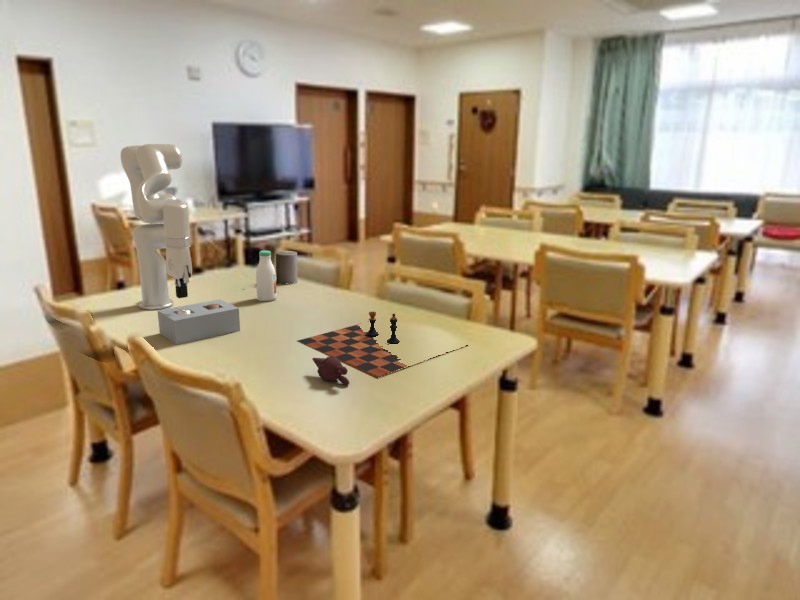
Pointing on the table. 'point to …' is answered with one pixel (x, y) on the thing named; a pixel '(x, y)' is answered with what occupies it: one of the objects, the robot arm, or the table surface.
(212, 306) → the brown rounded cylinder
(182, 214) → the robot arm
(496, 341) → the table surface
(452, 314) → the table surface
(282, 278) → the pillar candle
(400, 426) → the table surface
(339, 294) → the table surface
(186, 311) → the steel peg
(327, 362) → the brown knobby figurine
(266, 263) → the milk bottle
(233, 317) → the socket board
